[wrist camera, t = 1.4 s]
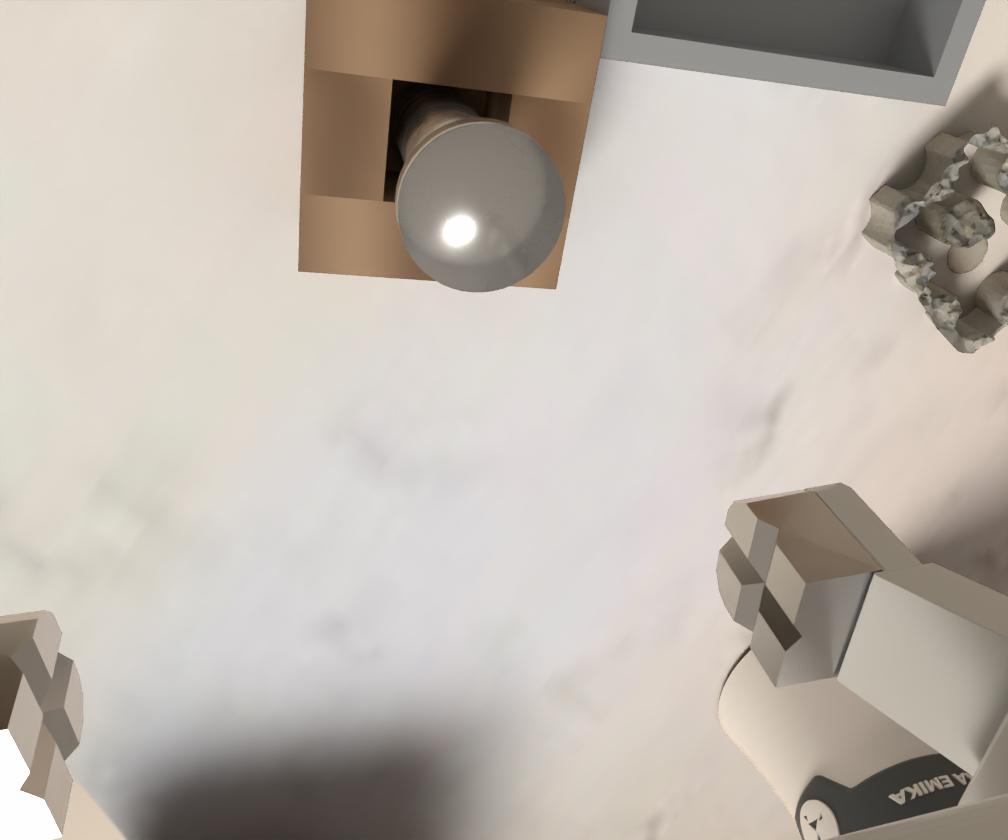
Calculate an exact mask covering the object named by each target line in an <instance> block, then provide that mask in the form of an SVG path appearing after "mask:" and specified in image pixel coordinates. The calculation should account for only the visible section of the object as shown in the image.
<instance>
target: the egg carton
mask: <svg viewBox="0 0 1008 840" xmlns="http://www.w3.org/2000/svg"><path fill="white" fill-rule="evenodd" d="M968 143H969V144H972V145H974V146H977V147H979V148H978V149H977V151H976V152H975V154H974V156H973V159H972V163H971V172H972V176H973V177H974V178H975V179H976V180H977V181H979V182H980V183H982V184H984V185H986V186H989V187H991V188H994V189H996V190H998V191H1001V192H1003V193H1005V194H1006V196H1005V198H1004V199H1003V201H1002V205H1001V211H1000V216H1001V218H1002V220H1003V221H1004V222H1005V223H1006V224H1007V225H1008V140H1007V139H1006V138H1005V137H1004V136H1002V135H1001V134H1000V130H999V129H998V128H997V127H996V126H995V125H994V124H993V123H992V128H991V129H990V130H989V131H987V132H986V133H983V134H976V133H974V132H973V131H969V132H967V133H966V134H964V135H962V136H958V137H954V136H952V135H949V134H946V133H943V132H939V133H938V134H937V135H936V136H935V137H934V138H933V139H932V140H931V141H930V142H929V143H927V144H926V146H925V151H926V155H927V162H926V166H925V169H924V171H923V173H922V175H921V176H920V178H919V179H918V180H917V181H916V182H915V183H914V184H912V185H911V186H909V187H907V188H902V189H894V188H891V187H889V186H887V185H884V186H883V187H882V188H881V189H880V190H879V191H878V192H877V193H876V194H874V195H873V196H872V197H871V199H870V204H871V218H870V220H869V223H868V225H867V226H866V228H865V229H864V230H863V232H862V235H863V236H864V237H865V239H866V240H867V241H868V242H869V243H870V244H871V245H872V246H874V247H875V248H877V249H879V250H881V251H882V252H884V253H886V254H888V255H889V256H891V257H893V258H894V260H895V262H896V263H895V266H896V267H897V269H898V270H897V271H896V273H895V276H896V278H897V279H898V280H899V281H900V283H901V284H902V285H904V286H905V287H907V288H908V289H910V290H912V291H913V292H915V293H917V294H918V298H919V301H920V302H921V304H922V305H923V306H924V308H925V309H926V315H927V317H928V318H929V319H930V320H931V321H932V322H933V323H934V324H935V326H936V328H937V329H938V330H939V331H940V332H941V333H942V334H943V336H944V337H945V338H946V339H947V340H948V341H949V342H950V343H951V344H952V345H953V346H954V347H955V348H956V349H957V350H958V351H960V352H962V353H974V352H975V351H976V350H977V349H978V348H980V347H981V346H983V345H985V344H987V343H989V342H992V341H994V340H995V338H994V335H995V334H996V333H997V332H998V331H999V330H1001V329H1002V328H1003V327H1005V326H1007V325H1008V272H1007V271H998V272H995V273H993V274H991V275H989V276H988V277H987V278H986V279H985V280H984V281H983V282H982V283H981V284H980V286H979V287H978V289H977V291H976V295H975V303H976V308H975V309H974V310H973V311H971V312H970V313H969V314H968V315H966V316H965V317H964V318H961V319H960V318H959V316H960V314H961V313H963V311H962V310H961V305H960V302H959V300H958V299H957V298H958V297H957V296H955V295H953V294H951V293H949V292H948V291H946V290H944V289H942V288H941V287H939V286H937V285H935V284H934V283H932V282H930V281H929V280H930V279H931V278H933V277H934V276H935V275H936V272H935V271H934V270H933V268H932V267H931V266H933V265H934V263H933V262H932V261H931V257H930V256H928V255H927V254H926V253H921V252H918V251H916V250H915V249H913V248H911V247H909V246H908V245H906V244H904V243H902V242H900V241H899V240H897V239H895V233H896V230H897V229H899V228H900V227H902V226H904V225H905V224H907V223H908V222H910V221H911V220H912V219H913V218H915V217H916V218H915V220H916V224H917V226H918V228H919V229H920V230H921V231H923V232H925V233H927V234H928V235H930V236H932V237H934V238H935V239H937V240H939V241H941V242H943V243H945V244H948V245H951V248H950V250H949V252H948V257H947V261H948V266H949V268H950V269H951V270H952V271H954V272H956V273H965V272H969V271H971V270H973V269H974V268H976V267H977V266H978V265H979V264H980V263H981V262H982V261H983V258H984V256H985V254H986V252H987V247H988V243H987V239H988V238H990V237H991V236H992V235H993V234H994V233H995V223H994V220H993V219H992V218H991V217H990V216H989V215H988V214H987V212H986V211H985V209H984V207H983V206H982V204H981V203H980V202H979V201H978V200H976V199H973V198H970V197H968V196H965V195H963V194H961V193H958V192H956V191H955V190H954V189H953V186H952V183H953V182H954V181H956V180H957V179H958V178H959V176H960V175H959V168H960V167H961V166H963V165H965V164H967V163H969V160H968V158H967V156H966V155H965V153H964V147H965V146H966V145H967V144H968Z"/></svg>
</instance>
